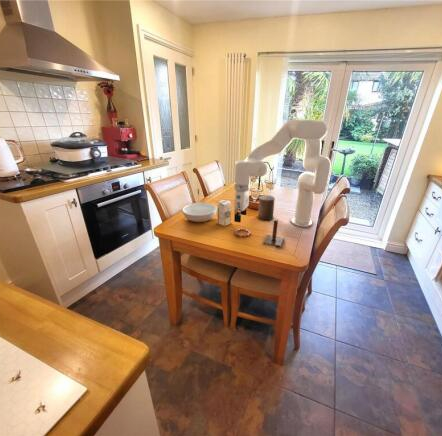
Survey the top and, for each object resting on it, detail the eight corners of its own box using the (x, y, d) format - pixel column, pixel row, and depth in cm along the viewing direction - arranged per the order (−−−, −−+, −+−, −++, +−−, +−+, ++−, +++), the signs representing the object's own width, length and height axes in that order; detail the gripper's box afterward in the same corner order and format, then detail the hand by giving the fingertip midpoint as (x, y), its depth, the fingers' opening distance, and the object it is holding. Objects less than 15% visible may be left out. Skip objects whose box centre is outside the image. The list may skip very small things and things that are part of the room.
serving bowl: (198, 209, 160) (198, 199, 157) (223, 216, 150) (223, 206, 147) (175, 220, 143) (175, 209, 140) (202, 229, 134) (202, 218, 131)
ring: (237, 229, 135) (237, 227, 134) (252, 232, 133) (252, 229, 132) (231, 236, 127) (231, 234, 126) (248, 239, 125) (248, 237, 124)
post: (267, 236, 129) (269, 215, 123) (283, 239, 126) (286, 217, 121) (263, 244, 121) (265, 221, 115) (280, 248, 119) (283, 225, 113)
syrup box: (224, 221, 144) (224, 199, 138) (231, 224, 141) (231, 201, 135) (217, 224, 140) (217, 201, 134) (224, 227, 137) (224, 204, 131)
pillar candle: (272, 221, 146) (274, 199, 140) (256, 219, 148) (258, 197, 142) (273, 215, 155) (275, 193, 149) (258, 213, 157) (260, 192, 150)
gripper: (244, 192, 106) (242, 226, 113) (254, 183, 121) (251, 213, 128) (228, 190, 108) (227, 223, 115) (240, 181, 123) (238, 211, 130)
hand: (240, 218), depth 122 cm, fingers open, 9 cm apart
